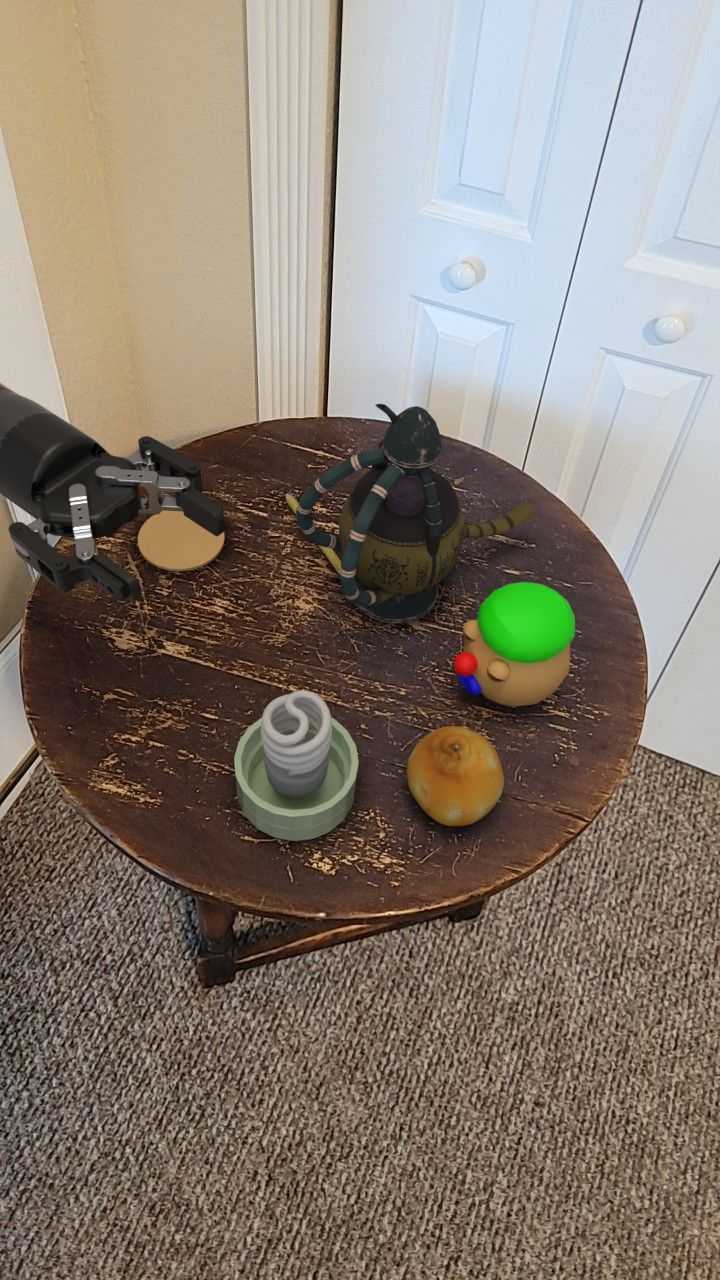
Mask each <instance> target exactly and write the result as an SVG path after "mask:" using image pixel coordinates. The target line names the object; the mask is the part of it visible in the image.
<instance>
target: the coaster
mask: <svg viewBox="0 0 720 1280" xmlns="http://www.w3.org/2000/svg"><path fill="white" fill-rule="evenodd" d="M225 537H226V536H225V531H224V532H223V533H221V534H220V535H219V536H215V535H213V534H212V533H210V532H208V531H207V530H205V529H204V528H202V527H201V526H199V525H198V524H196V523H195V522H193V521H192V520H190V519H189V518H187V517H186V516H184V513H183V511H161V513H160V514H157V515H153V514H152V515H151V516H150V517H149V518H147V519H146V521H145V522H144V523H143V524H142V525H141V527H140V528H139V531H138V534H137V546H138V550H139V552H140V554H141V556H142V557H143V558H144V559H145V560H146V561H147V562H148V563H149V564H151V565H152V566H154V567H156V568H159V569H162V570H164V571H169V572H188V571H193V570H196V569H197V570H198V569H200V568H202V567H204V566H206V565H208V564H209V563H211V562H212V561H213V560H215V559H216V558H217V557H218V556H219V554H220V553H221V552H222V549H223V548H224V545H225V539H226V538H225Z"/></svg>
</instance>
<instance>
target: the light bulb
mask: <svg viewBox="0 0 720 1280" xmlns="http://www.w3.org/2000/svg"><path fill="white" fill-rule="evenodd" d="M331 717H332V714H331V710H330V708H329V706H328V705H327V703H326V701H325V700H324V699H323V698H322V697H321V696H320V695H318V694H316V692H313V691H310V690H303V689H300V690H296V691H292V692H291V693H289V694H284V695H280V696H278V697H276V698H274V699H273V700H271V701H270V702H269V703H268V704H267V705H266V707H265V708H264V710H263V713H262V717H261V718H262V723H261V741H262V744H263V747H264V751H265V756H264V767H265V770H266V774H267V778H268V781H269V783H270V784H271V786H272V787H273V788H274V789H275V790H276V791H277V792H279V793H281V794H283V795H285V796H287V797H294V798H299V797H305V796H308V795H310V794H312V793H314V792H315V791H317V790H318V789H319V788H320V787H321V785H322V784H323V783H324V780H325V777H326V774H327V769H328V763H329V755H328V751H329V748H330V745H331V741H332V722H331ZM290 719H299V721H300V724H299V723H297V722H296V721H295V720H290ZM309 723H310V724H311V725H313V726H314V727H315V728H316V730H317V731H318V734H317V735H316V734H314V733H312V732H310V731H308V725H309ZM285 729H290V730H286V731H283V732H281V733H279V732H280V731H282V730H285Z"/></svg>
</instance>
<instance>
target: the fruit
mask: <svg viewBox="0 0 720 1280" xmlns="http://www.w3.org/2000/svg"><path fill="white" fill-rule="evenodd" d="M504 776H505V775H504V771H503V767H502V762H501V759H500V757H499V755H498V753H497V750H496V748H495V747H494V745H493V744H492V742H491V741H490V740H488V739H487V738H486V737H485V736H483V735H481V734H480V733H478V732H476V731H473V730H471V729H468V728H466V727H463V726H458V725H450V726H448V725H447V726H443V727H440V728H438V729H435V730H433V731H431V732H429V733H427V734H426V735H425V736H424V737H423V738H422V739H420V741H419V742H418V743H417V744H416V746H415V747H414V748H413V750H412V751H411V753H410V755H409V758H408V760H407V765H406V779H407V784H408V788H409V790H410V793H411V795H412V797H413V798H414V799H415V801H416V802H417V804H418V805H419V807H420V808H421V809H422V810H423V811H424V813H426V814H427V815H428V816H429V818H431V819H432V820H434V821H436V822H438V823H439V824H441V825H444V826H447V827H462V826H469V825H472V824H474V823H476V822H478V821H479V820H482V819H483V818H484V817H486V815H487V814H488V813H490V812H491V811H492V809H493V808H494V807H495V806H496V804H497V803H498V802H499V800H500V798H501V796H502V794H503V790H504V787H505V786H504V784H505V777H504Z"/></svg>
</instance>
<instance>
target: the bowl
mask: <svg viewBox="0 0 720 1280" xmlns="http://www.w3.org/2000/svg"><path fill="white" fill-rule="evenodd" d="M290 720H295V721H296V722H297V723H299V724H300V721H299V719H290ZM331 722H332V741H331V745H330V748H329V751H328V755H329V763H328V769H327V774H326V777H325V780H324V783H323V784H322V785H321V787H320V788H319V789H318V790H317V791H315V792H314V793H312V794H310V795H308V796H305V797H299V798H294V797H287V796H285V795H283V794H281V793H279V792H277V791H276V790H275V789H274V788H273V787H272V786H271V784H270V783H269V781H268V778H267V774H266V770H265V767H264V756H265V751H264V747H263V744H262V741H261V723H262V717H260V718H259V719H257V720H256V721H255V722H254V723H252V724H251V725H250V726H249V727H248V728H247V729H246V731H245V732H244V733H243V735H242V736H241V738H240V739H239V741H238V743H237V747H236V750H235V753H234V757H233V762H234V763H233V765H234V775H235V786H236V797H237V802H238V804H239V806H240V808H241V810H242V813H243V815H244V817H245V818H246V819H247V820H248V821H249V822H250V823H251V824H252V826H254V827H255V828H256V829H257V830H259V831H261V832H263V833H265V834H266V835H269V836H271V837H273V838H275V839H280V840H286V841H290V842H296V841H298V842H299V841H307V840H312V839H313V840H314V839H316V838H318V837H321V836H323V835H325V834H328V833H329V832H332V831H333V830H334V829H335V828H336V827H337V826H339V825H340V824H341V823H342V822H343V821H344V820H345V819H346V817H347V815H348V814H349V812H350V811H351V809H352V807H353V805H354V802H355V796H356V793H357V792H356V791H357V784H358V774H359V767H360V766H359V765H360V762H359V761H360V760H359V755H358V750H357V745H356V742H355V741H354V740H353V738H352V736H351V734H350V732H349V731H348V730H347V728H345V727H344V726H343V725H342V724H341V723H340V722H339V721H338V720H336V719H335V718H334V717H332V716H331ZM286 730H290V729H285V730H282V731H280V732H279V733H281V732H283V731H286ZM308 731H310V732H312V733H314V734H316V735H317V734H318V731H317V730H316V728H315V727H314V726H313V725H311V724H310V723H309V725H308Z"/></svg>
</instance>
